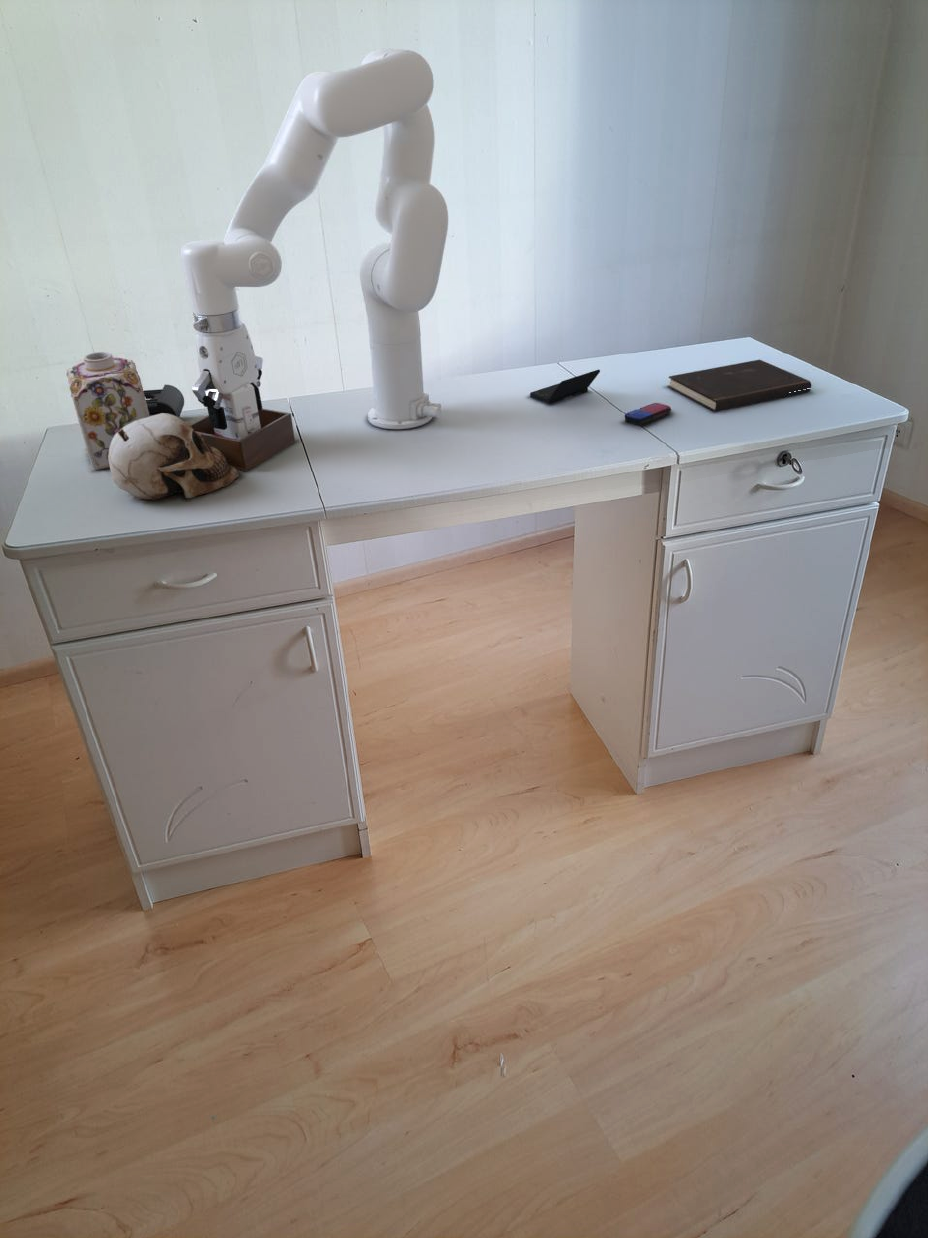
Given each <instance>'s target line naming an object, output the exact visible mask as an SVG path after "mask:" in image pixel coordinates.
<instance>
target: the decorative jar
mask: <svg viewBox="0 0 928 1238" xmlns="http://www.w3.org/2000/svg"><path fill="white" fill-rule="evenodd" d="M66 378H67V379H68V380H67V381H68V384H69V385H68V386H69V391H70V397H71V400H72V402H73V405H74V410H75V413H76V417H77V419H78V423H79V426H80V431H81V434H82V437H83V441H84V445H85V448H86V452H87V454H88V458H89V461H90V465H91V468H92V470H94V471H100V470H105V469H110V464H109V460H108V455H109V448H110V444H111V442H112V439H113V437H114V436H115V434H116V433H117V432H118V431H119V430H121V429H122V428H123V427H125V426H126V425H128V424H130V423H132V422H134V421H136V420H139V419H143V418H147V417H149V416H150V415H149V412H148V407H147V403H146V400H147V399H146V398H145V396H144V392H143V391H144V389H143V388H144V387H143V385H142V380H141V377H140V375H139V372H138V370H137V365H136V363H135V362H134V361H133V360H132V359H128V358H123V357H118V356H117V357H114V355H113V354H112V353H111V352H107V351H96V352H91V353H88V354H86V355H84V356H83V361H82V362H80V363H78V364H76V365H73V366H72V367H69V368H68V369H67V370H66Z"/></svg>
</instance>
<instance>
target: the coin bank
mask: <svg viewBox="0 0 928 1238" xmlns="http://www.w3.org/2000/svg"><path fill="white" fill-rule="evenodd" d="M190 424H191V423H189V422H187V421H184V420H183V419H181V418H180V417H176V416H174V415H171V414H168V413H161V414H157V415H153V416H149V417H147V418H143V419H139V420H136V421H134V422H132V423H130V424H128V425H126V426H125V427H123V428H122V429H121V430H119V431H118V432H117V433H116V434H115V436H114V437H113V439H112V442H111V444H110V448H109V455H108V460H109V464H110V468H109V469H110V474H111V478H112V480H113V483H114V484H115V485H116V487H117V488H118V489H120V490H123V491H125V492H127V493H128V494H129V495H131V496H132V497H133V498H134V499H141V500H146V501H147V500H151V501H157V500H159V499H163V498H165V497H169V496H173V495H175V494H176V493H177V494H178V493H183V494H184V497H185V498H186V499H194V498H195V497H197V496H202V495H206V494H211V493H212V492H214V491H217V490H219V489H221V488H224V487H228V486H229V485H230V484H231V483H232V482H233V481H235V479H237V478H239V477H240V473H239V470H237V469H235V468H234V467H232V466H231V465H228V464H227V462H226V459H225V457H224V456H223V454H222V453H221V452H220V451H219V450H218V449H216V448H214V447H210V446H209V445H208V444H207V443H206V441H205V439H204V438H201V434H200V433H196V432H195V431H194V429H193V428H192V427H191V425H190Z"/></svg>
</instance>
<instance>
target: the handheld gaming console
mask: <svg viewBox="0 0 928 1238" xmlns="http://www.w3.org/2000/svg"><path fill="white" fill-rule="evenodd" d="M600 372H601V369H596V370H592V371H589V372H586V373H583V374H580V375H577V376H574V377H571V378H568V379H565V380H561V381H560V382H559V383H556V384H553V385H549V386H546V387H543V388H540V389H537V390H533V391H531V392H530V393H529V398H532V399H534V400H537V401H539V402H542V403H544V404H547V405H549V406H550V405H552V404H553V405H554V404H556V403H558V402H562V401H565V400H566V399H570V398H572V397H573V398H574V397H577V396H580V395H583V394H585V393H588V392H589V387H590V386H591V385H592V384H593V382H594V380H595V379H596V378H597V377H598V375H599V374H600Z"/></svg>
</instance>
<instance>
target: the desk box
mask: <svg viewBox="0 0 928 1238" xmlns="http://www.w3.org/2000/svg"><path fill="white" fill-rule="evenodd" d="M258 414H259V420H260V426H261V429H259V430H258V431H256V432H254V433H252V434H250V435H249V436H247V437H245V438H243V439H242V440H237V439H232V438H227V437H222V436H217V435H215V431H214V428H212V426H211V423H210V418H209V414H208V415H206V416H204V417H202V418H200V419H198V420H196V421H194V422H192V423H189V424H190V425H191V427H192V428H193V429H194V431H195V432H196V433H200V434H201V438H204V439H205V441H206V443H207V444H208V445H209V446H210V447H214V448H216V449H218V450H219V451H220V452H221V453H222V454H223V456H224V457H225V459H226V462H227V464H228V465H231V466H232V467H234V468H235V469H236V470H237V471H242V472H248V471H250V470H251V469H253V468H254V467H256V466H258V465H260V464H261V463H262V462H264V461H266V460H268V459H269V458H271V457H273V456H274V455H276V454H278V453H279V452H281V451H282V450H285V448H287V447H289V446H290V445H292V444H294V443H295V442H296V439H295V431H294V425H293V418H292V413H291V412H285V411H280V410H275V409H274V410H273V409H268V408H263V407H262V409H261V410H258Z"/></svg>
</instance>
